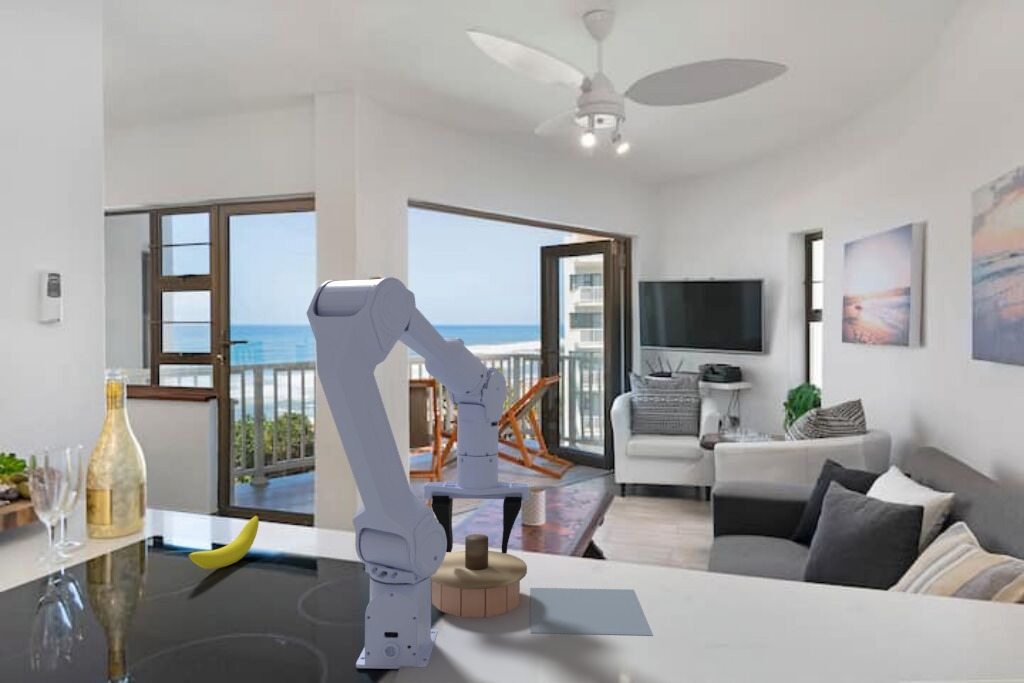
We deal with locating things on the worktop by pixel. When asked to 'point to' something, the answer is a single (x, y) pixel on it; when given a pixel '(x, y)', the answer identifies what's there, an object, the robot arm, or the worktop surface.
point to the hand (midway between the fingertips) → (476, 550)
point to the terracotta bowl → (475, 600)
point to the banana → (228, 548)
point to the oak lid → (479, 567)
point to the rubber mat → (587, 612)
